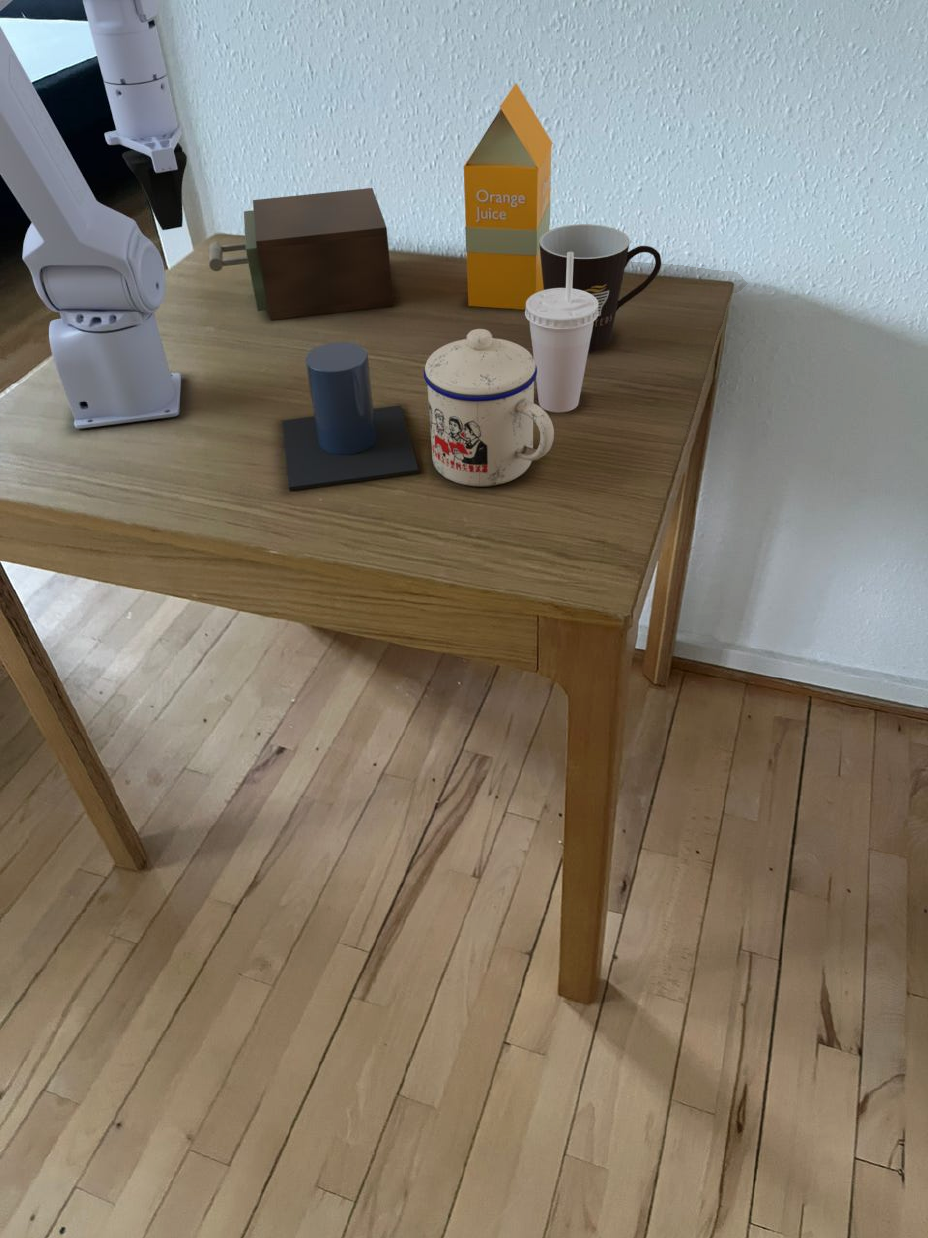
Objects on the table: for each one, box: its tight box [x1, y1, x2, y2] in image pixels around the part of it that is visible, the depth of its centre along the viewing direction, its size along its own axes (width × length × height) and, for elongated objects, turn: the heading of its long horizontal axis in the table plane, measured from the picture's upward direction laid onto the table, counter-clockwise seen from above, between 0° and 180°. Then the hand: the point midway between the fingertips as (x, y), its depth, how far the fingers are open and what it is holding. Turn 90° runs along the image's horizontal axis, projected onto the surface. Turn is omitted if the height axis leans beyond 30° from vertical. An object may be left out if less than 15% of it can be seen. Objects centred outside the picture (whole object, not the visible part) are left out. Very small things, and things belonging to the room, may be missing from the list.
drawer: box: [208, 209, 269, 312], centre depth 106 cm, size 17×11×7 cm
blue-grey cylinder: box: [304, 341, 377, 455], centre depth 82 cm, size 5×5×8 cm
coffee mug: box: [539, 223, 662, 354], centre depth 94 cm, size 12×9×10 cm
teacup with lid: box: [423, 328, 555, 487], centre depth 77 cm, size 12×9×12 cm
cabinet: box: [252, 187, 394, 321], centre depth 106 cm, size 14×13×9 cm
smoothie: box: [524, 252, 599, 413], centre depth 84 cm, size 6×6×14 cm
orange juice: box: [463, 82, 554, 311], centre depth 100 cm, size 8×9×20 cm
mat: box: [282, 404, 420, 492], centre depth 84 cm, size 11×11×1 cm
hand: (171, 226), depth 97 cm, fingers closed
